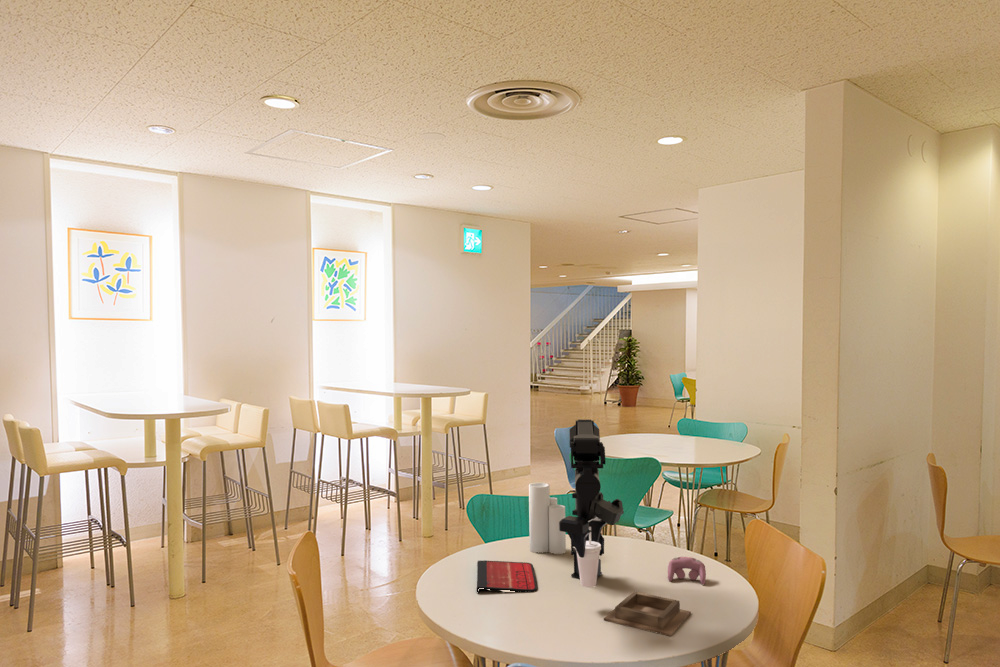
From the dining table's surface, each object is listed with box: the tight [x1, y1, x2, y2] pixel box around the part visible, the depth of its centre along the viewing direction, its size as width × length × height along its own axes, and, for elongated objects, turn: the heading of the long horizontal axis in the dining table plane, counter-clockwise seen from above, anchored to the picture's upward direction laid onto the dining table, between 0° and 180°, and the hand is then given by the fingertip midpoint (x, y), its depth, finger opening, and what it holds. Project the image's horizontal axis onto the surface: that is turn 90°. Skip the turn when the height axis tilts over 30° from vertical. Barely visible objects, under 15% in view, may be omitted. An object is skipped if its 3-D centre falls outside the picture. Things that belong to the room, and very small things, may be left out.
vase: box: [528, 482, 567, 555], centre depth 205 cm, size 11×7×20 cm, turn 79°
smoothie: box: [576, 526, 601, 588], centre depth 161 cm, size 6×6×14 cm
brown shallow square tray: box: [603, 591, 692, 637], centre depth 155 cm, size 16×14×3 cm
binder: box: [476, 559, 538, 593], centre depth 181 cm, size 16×2×21 cm
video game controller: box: [667, 556, 707, 585], centre depth 178 cm, size 10×5×7 cm, turn 71°
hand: (587, 553), depth 161 cm, fingers closed on smoothie, 6 cm apart
